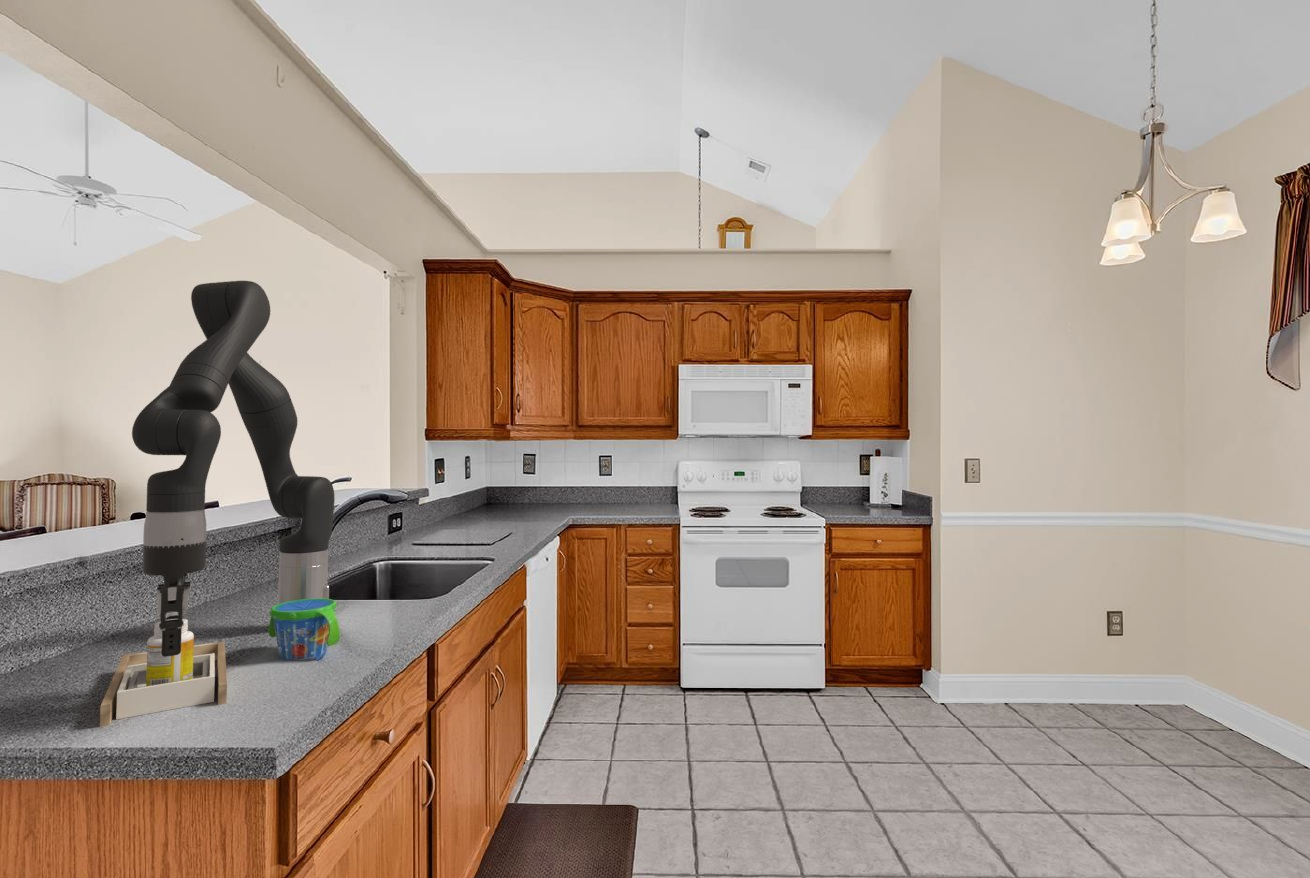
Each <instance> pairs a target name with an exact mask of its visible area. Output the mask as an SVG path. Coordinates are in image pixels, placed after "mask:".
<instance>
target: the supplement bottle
mask: <svg viewBox="0 0 1310 878" xmlns="http://www.w3.org/2000/svg"><path fill="white" fill-rule="evenodd" d="M170 620H174V619H170ZM183 622H184V626H182V631H181V652H180V654H178V655H174V656H167V657H164V656H162V631H161V630H160V627H159V624H160V623H161V620H159V621H158V622H155V623H154V631H153V632H154V633H153V635H151V636H150V637H149V638H148V639H147V642H146V652H147V673H146V686H150V685H156V684H162V683H169V682H175V681H181V680H187V679H193V648H194V645H195V644H194V643H195V635H194V633H193V632H192V631H190V630H188V628H189V626H188V625H189V621H188V619H186V618H184V619H183Z"/></svg>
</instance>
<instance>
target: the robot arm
mask: <svg viewBox="0 0 1310 878" xmlns="http://www.w3.org/2000/svg"><path fill="white" fill-rule="evenodd" d="M190 297H191V299H190V300H191V307H192V309H193V310H192V311H193V313H194V316H195V318H196V321H197V323H198V325H199V327H200V329H201V330H202V331H201V332H202V333H203V335H204V337H205V338H206V340H204V341H203V342H202V343H200V344H199V345H197V346H196V347H195V348H194V349H192V350H191V352H189V353H188V354H187V355H186V356H185V357H184V358H183V360H182V361H181V363H180V365H178V368H177V370H176V372H175V374H174V376H173V378H172V380H171V382H170V384H169V386H168V387H166V388H165V389H164V390H162V391H161V392H160V393H159V394H158V395H157V396H156V397H155V398H154V399H153V400H151V401H150V402H149V403H148V404H147V405H146V406H145V407H143V409H142V410H141V411H140V412H139V414H138V415H137V416H136V418H135V420H134V423H133V426H132V430H131V437H132V440H133V443H134V445H135V446H136V448H137V449H138V450H139V451H141V452H142V453H143V454H146V455H147V454H148V455H151V456H185V458H184V461H183V462H182V464H181V465H180V466H178V468H175V469H171V470H164V471H160V472H155V473H153V474H151V475H150V476H149V477H148V478H147V482H146V483H147V484H146V506H145V507H146V510H145V511H146V513H145V519H144V526H143V543H142V544H143V545H142V546H143V547H142V573H143V574H144V575H147V576H150V577H151V576H153V577H157V576H158V577H159V576H161V577H162V578H163V579H164V580H163V583H158V584H157V587H156V599H157V600H158V601H157V603H158V605H157V616H158V617H159V618H160V621H161V623H160V624H159V627H160V630H161V631H162V656H164V657H167V656H174V655H178V654H180V652H181V631H182V626H184V622H183V619H185V618H184V615H187V613H188V605H189V598H190V596H191V587H192V585H191V583H192V582H191V580H189V581H187V577H188V573H189V574H192V573H196V572H200V571H202V570H203V569H205V567H206V562H207V561H206V558H207V556H206V555H207V554H206V553H207V551H206V550H207V519H206V512H205V511H206V510H205V509H206V485H207V481H208V474H209V471H210V469H211V465H212V462H213V459H214V457H215V454H216V452H217V448H218V446H219V442H220V440H221V435H222V434H221V433H222V428H221V424H220V421H219V420H218V418H217V416H216V415H215V414H213V412H214V411H215V410H217V409H218V408H219V406H220V405H221V402H222V399H223V397H224V395H225V393H226V390H227V388H228V386H229V388H230V391H231V393H232V396H233V398H234V401H235V404H236V407H237V410H238V413H239V415H240V417H241V420H242V422H243V424H244V427H245V429H246V431H247V434H249V435H248V436H249V437H250V440H251V443H252V445H253V448H254V451H255V454H256V456H257V459H258V461H259V465H260V468H261V471H262V475H263V479H264V481H265V486H266V489H267V495H268V497H269V499H270V503H271V506H272V507H273V510H274V511H275V512H276V513H277V514H278V515H279V516H280V517H283V518H285V519H286V518H287V519H297V520H299V519H300V520H301V524H300V527H299V528H298V530H297V531H296V532H294V533H292V534H289V535H286V536H283V537H282V538H281V539H280V541H279V554H278V555H279V557H278V559H279V560H278V586H277V587H278V589H277V590H278V591H277V592H278V593H277V594H278V595H277V605H278V604H281V603H284V602H289V601H294V600H301V599H316V598H324V599H330V586H329V584H328V579H329V578H328V575H329V572H328V571H329V543H330V539H331V536H332V534H333V533H332V532H333V522H334V512H335V489H334V486H333V484H332V481H330V480H329V478H328V477H327V478H326V477H324V476H313V475H312V476H309V475H308V476H307V475H306V476H305V475H302V476H301V475H298V474H297V472H296V471H295V468H294V465H293V463H292V459H291V448H292V443H293V441H294V438H295V435H296V432H297V428H298V417H297V413H296V410H295V406H294V404H293V401H292V398H291V395H290V393H289V391H288V389H287V388H286V386H285V385H284V384H283V382H281V381H280V380H279V379H278V378H277V377H276V376H275V375H273V374H272V373H271V372H270V371H269V370H267V369H266V368H265V367H263V365H261V364H260V363H259V362H257V361H256V360H255V359H254V358H253V357H252V356H251V355H250V354H249V352H248V351H249V350H250V349H251V348H252V346H253V344H254V343H256V341H257V339H258V338H259V336H260V335H261V334H263V333H262V332H263V331H264V329H266V327H267V325H268V323H269V321H270V318H271V303H270V300H269V298H268V295H267V293H266V292H265V290H264V289H263V287H262V286H261V285H259V284H258V283H257V282H254V281H251V280H234V281H233V280H230V281H229V280H228V281H217V282H206V283H199V284H197V285H196V286H194V287H193V289H192V290H191V294H190ZM170 619H174V620H170Z"/></svg>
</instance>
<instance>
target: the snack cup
mask: <svg viewBox="0 0 1310 878" xmlns="http://www.w3.org/2000/svg"><path fill="white" fill-rule="evenodd" d="M337 606H338V605H337V602H336V600H334V599H331V598H329V599H324V598H316V599H301V600H294V601H289V602H284V603H281V604H278V603H277V604H276V605H273V606H272V607H271V609H270V611H269V615H270V621H269V625H268V630H267V632H268V636H269V637H270V638H276V644H277V646H276V647H277V653H278V657H279V659H282V660H289V661H292V660H296V661H297V660H305V659H311V658H315V660H316V661H319V660H321V659H322V658H323V657H325V656H326V655H327V651H328V647H332V646H334V645H336V644H337V643H338V642H339V641H340V638H341V631H340V627H339V626H340V625H339V621H338V618H337V615H336V610H337Z"/></svg>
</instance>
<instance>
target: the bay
mask: <svg viewBox="0 0 1310 878" xmlns="http://www.w3.org/2000/svg"><path fill="white" fill-rule="evenodd" d="M212 653H215V661H217V666H216V667H217V705H218V706H219V705H220V706H221V705H225V704H227V700H228V699H227V698H228V697H227V696H228V695H227V694H228V692H227V691H228V680H227V679H228V677H227V662H226V643H225V640H224V641H218V642H209V643H203V644H194V648H193V656H198V655H205V654H212ZM143 663H147V651H144V652H137V653H129V654H123V655H122V657H121V658H120V661H119V664H118V666H117V668H116V670H115V672H114V674H113V677H112V678H111V681H110V684H109V685H108V688H107V690H106V692H105V695H104V697H103V699H102V702H101V704H100V707H99V708H100V710H99V713H100V715H99V728H103V727H107V726H108V727H109V726H110V725H111V723H112V720H113V717H114V715H115V713H116V710H117V692H118V689H119V687H120V684H121V682H122V679H123V677H124V674H125V672H126V669H127V667H128V666H130V665H136V664H143Z"/></svg>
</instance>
